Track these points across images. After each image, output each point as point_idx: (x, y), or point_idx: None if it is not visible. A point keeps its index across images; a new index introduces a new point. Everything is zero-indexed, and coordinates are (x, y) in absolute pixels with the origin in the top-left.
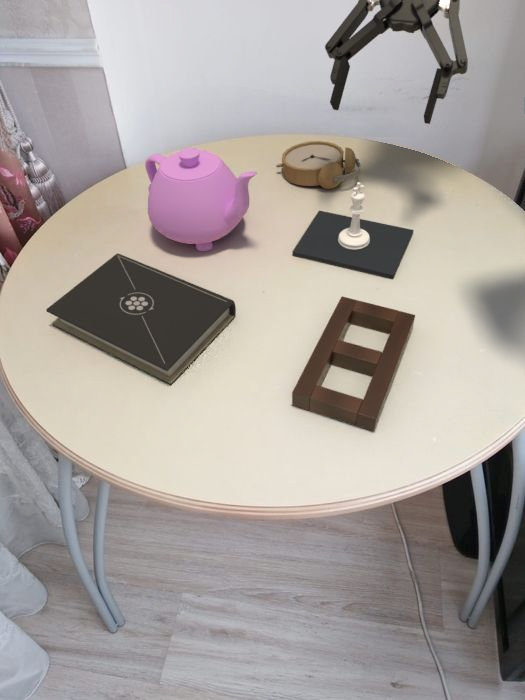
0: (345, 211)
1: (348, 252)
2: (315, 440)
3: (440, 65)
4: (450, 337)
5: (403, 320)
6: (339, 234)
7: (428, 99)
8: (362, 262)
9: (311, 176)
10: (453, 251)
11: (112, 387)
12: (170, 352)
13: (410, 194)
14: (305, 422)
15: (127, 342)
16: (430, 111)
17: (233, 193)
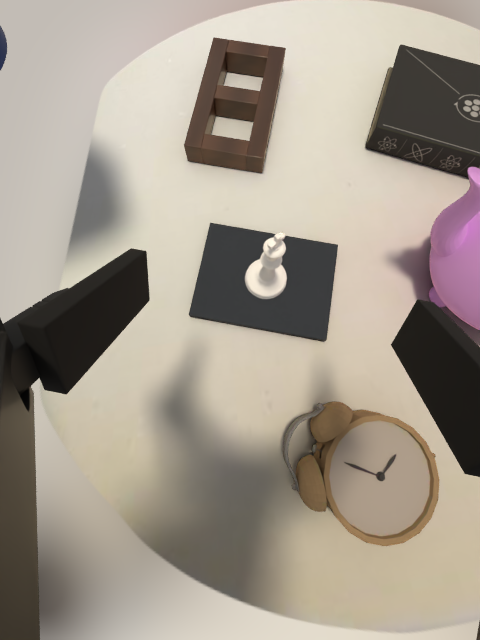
0: (287, 355)
1: None
2: None
3: (25, 411)
4: (151, 156)
5: (195, 136)
6: (286, 277)
7: (122, 269)
8: (248, 238)
9: (362, 414)
10: None
11: None
12: (407, 60)
13: (195, 419)
14: None
15: (453, 63)
16: (124, 253)
17: (474, 238)
